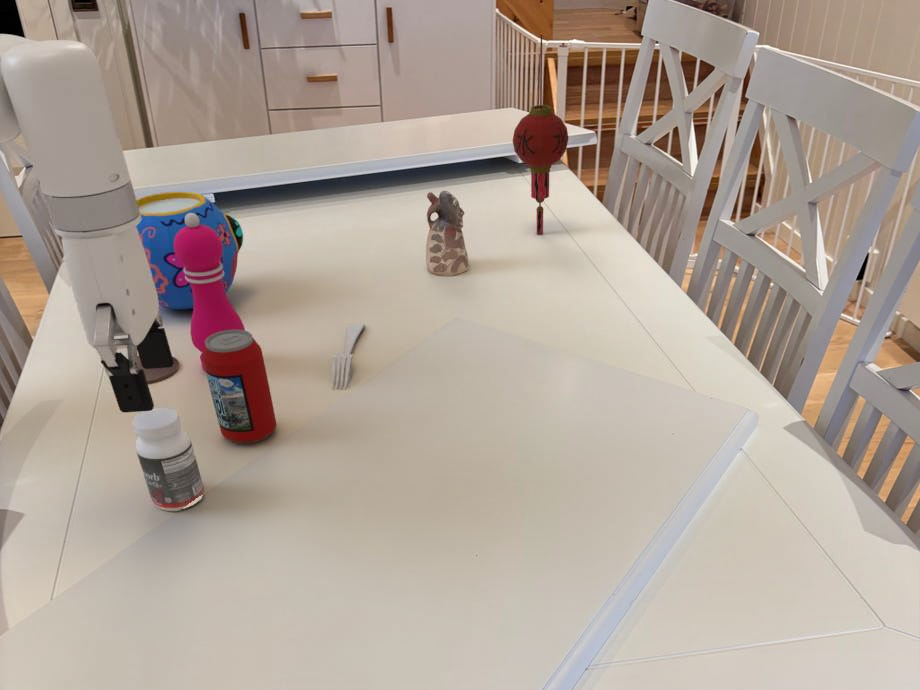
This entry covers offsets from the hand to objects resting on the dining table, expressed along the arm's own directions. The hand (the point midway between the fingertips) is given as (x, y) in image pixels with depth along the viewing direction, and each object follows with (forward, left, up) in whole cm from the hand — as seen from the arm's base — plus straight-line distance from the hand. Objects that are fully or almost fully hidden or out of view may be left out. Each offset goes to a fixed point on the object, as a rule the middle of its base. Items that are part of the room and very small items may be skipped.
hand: (148, 387), depth 92 cm
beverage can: (+6, +14, -14) cm, 20 cm away
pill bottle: (0, 0, -14) cm, 14 cm away
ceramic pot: (-9, +58, -14) cm, 60 cm away
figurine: (+32, +67, -14) cm, 75 cm away
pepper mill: (0, +34, -14) cm, 37 cm away
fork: (+17, +35, -14) cm, 41 cm away
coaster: (-11, +34, -13) cm, 38 cm away
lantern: (+49, +82, -14) cm, 96 cm away
